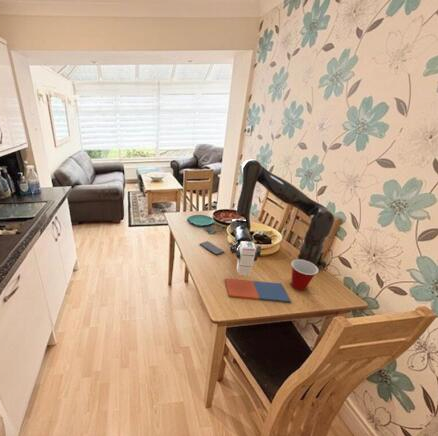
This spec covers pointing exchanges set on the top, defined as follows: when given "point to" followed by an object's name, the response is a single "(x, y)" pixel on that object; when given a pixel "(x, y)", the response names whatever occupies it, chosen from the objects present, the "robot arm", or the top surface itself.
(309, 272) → the plastic cup
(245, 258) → the syrup box
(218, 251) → the smartphone
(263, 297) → the mat
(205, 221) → the teal oval plate
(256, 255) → the robot arm
